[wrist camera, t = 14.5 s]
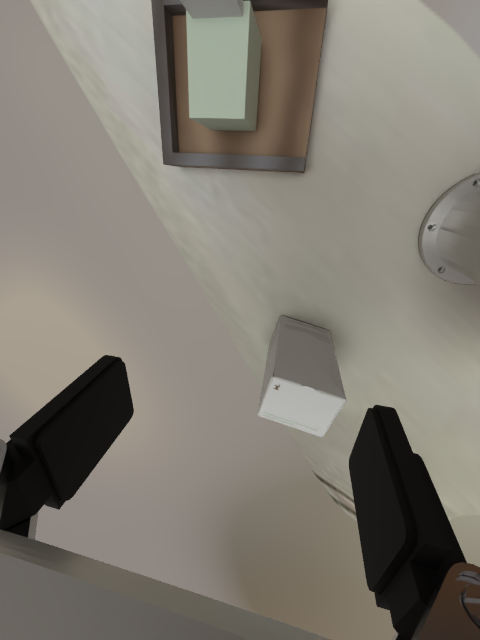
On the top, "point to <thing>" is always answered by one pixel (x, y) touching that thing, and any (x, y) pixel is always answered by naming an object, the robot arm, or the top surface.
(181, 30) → the brown wooden tray
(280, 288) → the top surface
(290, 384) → the skincare box
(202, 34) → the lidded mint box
